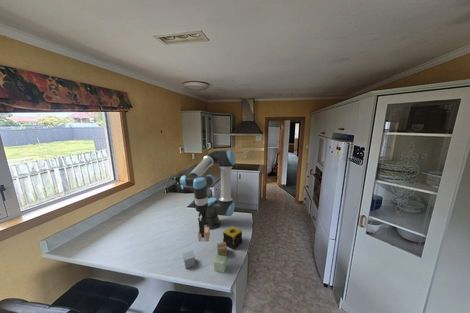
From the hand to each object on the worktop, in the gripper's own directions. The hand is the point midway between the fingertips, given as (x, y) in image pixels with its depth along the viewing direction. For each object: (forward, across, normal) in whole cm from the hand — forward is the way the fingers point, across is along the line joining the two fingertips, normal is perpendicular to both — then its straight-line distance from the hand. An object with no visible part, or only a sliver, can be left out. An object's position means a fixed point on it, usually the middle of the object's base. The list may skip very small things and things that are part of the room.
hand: (204, 237), depth 111 cm
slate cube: (+16, +3, -10) cm, 19 cm away
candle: (+17, -15, +17) cm, 28 cm away
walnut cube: (+16, -5, +10) cm, 20 cm away
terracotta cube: (0, 0, 0) cm, 0 cm away
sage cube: (+16, +7, +10) cm, 20 cm away
